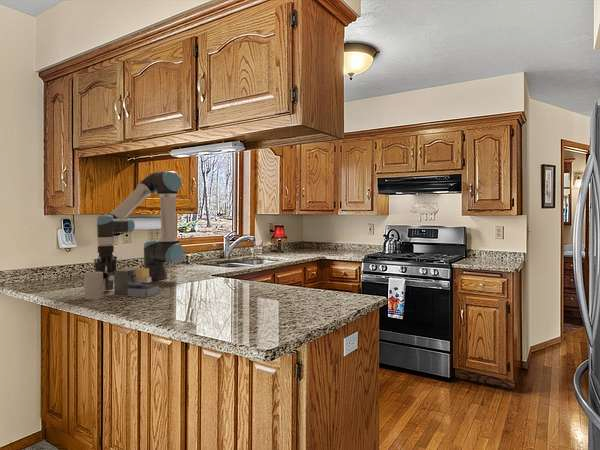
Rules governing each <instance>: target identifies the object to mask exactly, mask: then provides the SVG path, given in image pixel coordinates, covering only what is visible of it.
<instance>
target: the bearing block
mask: <svg viewBox="0 0 600 450" xmlns="http://www.w3.org/2000/svg"><path fill="white" fill-rule="evenodd" d="M136 269H140V267H139V268H137V267H126V268H120V269H116V270H114V272H113V273H114V281H113V290H114V296H115V295H116V296H117V295H118V296H127V297H129V296H128V288H132V289H141V285H142V282H132V276H136Z"/></svg>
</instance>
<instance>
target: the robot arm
mask: <svg viewBox="0 0 600 450" xmlns="http://www.w3.org/2000/svg"><path fill="white" fill-rule="evenodd" d="M182 184H183V183H182V178H181V176H180V174H178V173H177V171H172V170H168V171H167V170H166V171H154V172H153V173H149V174H148V175H147V176H146V177H145V178H143V179H142V180H141V181H139V183H137V187H136V188H135V189H134V190H133V191H132V192H130V194H129V195H128V196H127V197H126V198H125V199H124V200H123V201H121V203H120V204H119V205H117V206H116V207H115V208H114V209H113V210H111V212H110V213H109V214H107V215H106V214H99V215H98V216H96V217H97V218H96V233H97V234H96V235H97V253H98V257H97V258H94V259H93V261H94V265H95V267H94V268H95V272H103V293H105V292H107V291H106V283H105V279H104V275H105V272H113V275H114V270H117V259H118V256H117V255H116V256H114V255H113V253H114V252H115V250H114V249H115V248H114V244H115V242H114V234H125V233H132V232H133V231H134V230H135V229H136V228H135V221H134V219H132V218H127V217H128V216H130V214H131V213H132V212H133V211H134V210H135V209H136V208H137V207H138V206H139V205H140V204H141V203H142V202H143V201H144V200H145V199H146V198H148V197H151V196H152V195H153V194H155V193H157V196H158V197H159V201H160V202H159V205H160V230H161V231H160V233H161V238H160V239H159V240H152V241H151V240H150V241H146V242H145V241H144V243H143V268H149V276H148V277H151V281H159V280H166V279H167V278H168V273H167V270H166V267H165V263H167V264H175V263H178V262H180V261H181V260H182V259H183V257H184V251H185V249H184V247H183V246H182V244H180V238H178V236H177V214H176V213H177V211H176V207H177V206H176V197H177V196H178V194H179V190H180V189H181V188H182Z"/></svg>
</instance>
